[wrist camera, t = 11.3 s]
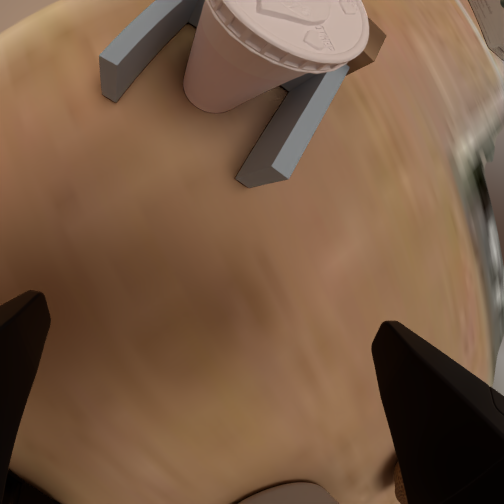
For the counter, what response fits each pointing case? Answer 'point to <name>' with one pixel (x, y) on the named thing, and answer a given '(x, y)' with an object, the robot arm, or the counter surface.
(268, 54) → the smoothie
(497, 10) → the supplement box
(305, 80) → the cradle
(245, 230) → the counter surface
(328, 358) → the counter surface
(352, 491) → the counter surface
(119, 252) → the counter surface
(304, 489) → the cylinder vase
